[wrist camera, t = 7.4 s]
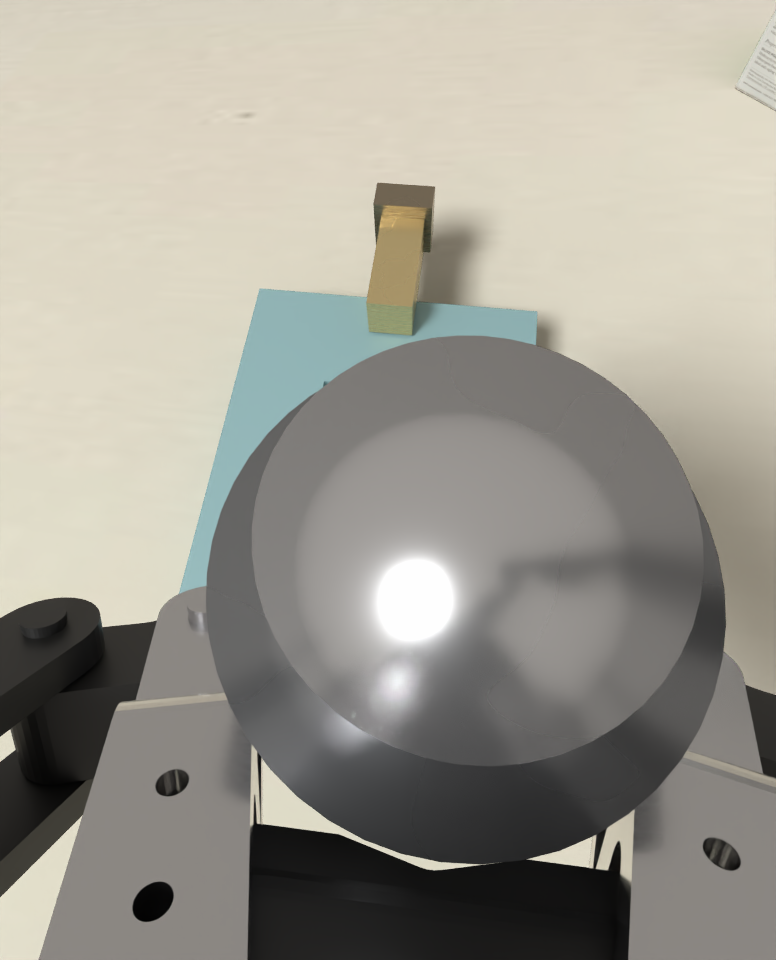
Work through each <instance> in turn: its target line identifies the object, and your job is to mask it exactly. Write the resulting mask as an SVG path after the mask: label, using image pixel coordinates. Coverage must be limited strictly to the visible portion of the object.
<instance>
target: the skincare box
mask: <svg viewBox="0 0 776 960" xmlns="http://www.w3.org/2000/svg"><path fill="white" fill-rule="evenodd" d="M735 87H736V89H737V90H739V91H741V92H743V93H745V94H746V95H748V96H750V97H752V98H754V99H755V100H757V101H759V102H761V103H763V104H764V105H766V106H768V107H770V108H772V109H773V110H775V111H776V10H775V12H774V14H773V16H772V17H771V19H770V21H769V23H768V25H767V27H766V29H765V31H764V33H763V35H762V36H761V38H760V40H759V42H758V44H757V46H756V48H755V50H754V52H753V53H752V55H751V57H750V59H749V61H748V63H747V65H746V67H745V68H744V70H743V72H742V74H741V76H740V78H739V80H738V82H737V84H736V86H735Z"/></svg>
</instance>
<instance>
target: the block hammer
mask: <svg viewBox="0 0 776 960" xmlns="http://www.w3.org/2000/svg"><path fill="white" fill-rule="evenodd" d="M434 198H435V187H432V186H417V185H402V184H388V183H377V188H376V194H375V199H374V219H375V234H376V250H375V256H374V262H373V267H372V273H371V279H370V284H369V290H368V296H367V301H366V306H367V316H368V327H369V332H378V333H389V334H401V335H412V332H413V324H414V317H415V310H416V302H417V295H418V288H419V280H420V273H421V265H422V258H423V252H430V249H431V241H432V234H433V218H434Z"/></svg>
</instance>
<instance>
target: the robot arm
mask: <svg viewBox="0 0 776 960" xmlns="http://www.w3.org/2000/svg"><path fill="white" fill-rule="evenodd" d="M10 729H11V733H12V737H13V741H14V745H15V749H16V750H15V751H14V752H12V753H11V754H10V755H9V756H7V757H6V758H5V759H4V760H2V761H1V762H0V897H1V896H2V895H3V894H4V893H5V892H6V891H7V890H8V889H9V888H10V887H11V886H12V885H13V884H14V883H15V882H16V881H17V880H18V879H19V878H20V877H21V876H22V875H23V874H24V873H25V872H26V871H27V870H28V869H29V868H30V867H31V866H32V865H33V864H34V863H35V862H36V861H37V860H38V859H39V858H40V857H41V856H42V855H43V854H44V853H45V852H46V851H47V850H48V849H49V848H50V847H51V846H52V845H53V844H54V843H55V842H56V841H57V840H58V839H59V838H60V837H61V836H62V835H63V834H64V833H65V832H66V831H67V830H68V829H69V828H70V827H71V826H72V825H73V824H74V823H75V822H76V821H77V820H78V819H79V818H80V817H81V816H82V815H83V816H82V819H81V823H80V826H79V829H78V833H77V836H76V839H75V842H74V846H73V849H72V852H71V856H70V859H69V862H68V865H67V869H66V872H65V875H64V878H63V882H62V885H61V888H60V892H59V895H58V898H57V901H56V905H55V908H54V911H53V915H52V918H51V921H50V924H49V928H48V931H47V934H46V937H45V941H44V944H43V947H42V951H41V954H40V957H39V960H776V695H773V694H770V693H767V692H763V691H761V690H758V689H755V688H752V687H750V686H747V685H745V682H744V677H743V674H742V671H741V670H740V668H739V666H738V665H737V664H736V663H735V661H734V660H733V659H732V658H731V657H729V656H728V655H727V654H726V653H725V652H723V659H722V663H721V667H720V672H719V676H718V680H717V684H716V688H715V692H714V695H713V698H712V700H711V703H710V705H709V708H708V710H707V713H706V715H705V718H704V720H703V722H702V725H701V727H700V729H699V731H698V733H697V734H696V736H695V738H694V739H693V741H692V743H691V744H690V746H689V748H688V749H687V751H686V753H685V754H684V756H683V758H682V760H681V761H680V762H679V763H678V764H677V766H676V767H675V768H674V769H673V770H672V772H671V773H670V774H669V775H668V777H667V778H666V779H665V780H664V781H663V783H662V784H661V785H660V786H659V787H658V789H657V790H655V791H654V792H653V793H652V794H651V795H650V796H649V797H647V798H646V799H645V800H644V801H643V802H642V803H641V804H640V805H638V806H637V807H636V808H635V809H634V810H633V811H632V812H631V813H629V814H628V815H627V816H625V817H623V818H622V819H620V820H619V821H617V822H616V823H614V824H612V825H611V826H609V827H608V828H606V829H604V830H603V831H601V832H600V833H598V834H597V835H595V836H592V843H591V852H590V861H589V868H586V867H579V866H571V865H564V864H556V863H549V862H541V861H534V860H526V859H525V860H521V861H511V862H502V863H494V864H486V865H478V866H470V867H463V868H455V869H447V870H435V871H433V870H426V869H423V868H420V867H418V866H415V865H413V864H410V863H408V862H405V861H403V860H400V859H398V858H395V857H393V856H391V855H388V854H386V853H383V852H381V851H378V850H376V849H373V848H371V847H368V846H366V845H364V844H361V843H359V842H356V841H354V840H351V839H349V838H346V837H344V836H341V835H339V834H332V833H324V832H317V831H309V830H302V829H294V828H287V827H279V826H272V825H264V824H263V787H262V757H261V756H260V755H259V753H258V752H257V751H256V749H255V748H254V747H253V745H252V744H251V743H250V741H249V740H248V738H247V737H246V735H245V733H244V731H243V729H242V728H241V726H240V724H239V722H238V720H237V719H236V717H235V715H234V713H233V711H232V709H231V708H230V705H229V703H228V700H227V698H226V695H225V692H224V690H223V687H222V685H221V682H220V679H219V677H218V674H217V671H216V666H215V662H214V658H213V654H212V649H211V645H210V641H209V633H208V623H207V613H206V586H203V587H198V588H194V589H190V590H187V591H185V592H182V593H180V594H178V595H176V596H175V597H173V598H172V599H170V600H169V601H168V602H167V603H166V604H165V605H164V606H163V607H162V609H161V610H160V612H159V615H158V618H157V621H153V622H148V623H140V624H130V625H120V626H111V627H102V623H101V617H100V612H99V609H98V608H97V607H96V606H95V605H94V604H93V603H91V602H89V601H86V600H83V599H78V598H53V599H47V600H42V601H38V602H35V603H31V604H28V605H26V606H23V607H21V608H18V609H16V610H14V611H12V612H10V613H9V614H7V615H5V616H3V617H2V618H0V736H2V735H3V734H4V733H6V732H7V731H8V730H10Z"/></svg>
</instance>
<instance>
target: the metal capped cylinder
mask: <svg viewBox="0 0 776 960" xmlns="http://www.w3.org/2000/svg"><path fill="white" fill-rule="evenodd" d="M206 613H207V623H208V633H209V641H210V645H211V649H212V654H213V658H214V662H215V666H216V671H217V674H218V677H219V679H220V682H221V685H222V687H223V690H224V692H225V695H226V698H227V700H228V703H229V705H230V708H231V709H232V711H233V713H234V715H235V717H236V719H237V720H238V722H239V724H240V726H241V728H242V729H243V731H244V733H245V735H246V737H247V738H248V740H249V741H250V743H251V744H252V745H253V747H254V748H255V749H256V751H257V752H258V753H259V755H260V756H261V757H262V759H263V760H264V761H265V763H266V764H267V765H268V767H269V768H270V769H271V770H272V771H273V772H274V773H275V774H276V775H277V776H278V777H279V778H280V779H281V780H282V781H283V782H284V783H285V784H286V786H287V787H288V788H289V789H290V790H291V791H292V792H293V793H294V794H295V795H296V796H297V797H299V798H300V799H301V800H303V801H304V802H305V803H307V804H308V805H309V806H311V807H312V808H313V809H315V810H316V811H317V812H318V813H320V814H321V815H322V816H324V817H325V818H326V819H328V820H329V821H331V822H333V823H335V824H336V825H338V826H340V827H342V828H344V829H345V830H347V831H349V832H351V833H353V834H355V835H356V836H358V837H360V838H362V839H364V840H366V841H369V842H372V843H374V844H377V845H380V846H382V847H385V848H388V849H390V850H393V851H396V852H398V853H401V854H405V855H410V856H415V857H420V858H424V859H429V860H434V861H438V862H449V863H466V864H490V863H500V862H511V861H521V860H525V859H529V858H533V857H537V856H541V855H545V854H548V853H552V852H556V851H560V850H562V849H565V848H567V847H569V846H572V845H574V844H576V843H578V842H581V841H583V840H585V839H588V838H590V837H592V836H595V835H597V834H598V833H600V832H601V831H603V830H604V829H606V828H608V827H609V826H611V825H612V824H614V823H616V822H617V821H619V820H620V819H622V818H623V817H625V816H627V815H628V814H629V813H631V812H632V811H633V810H634V809H635V808H636V807H637V806H638V805H640V804H641V803H642V802H643V801H644V800H645V799H646V798H647V797H649V796H650V795H651V794H652V793H653V792H654V791H655V790H657V789H658V787H659V786H660V785H661V784H662V783H663V781H664V780H665V779H666V778H667V777H668V775H669V774H670V773H671V772H672V770H673V769H674V768H675V767H676V766H677V764H678V763H679V762H680V761H681V760H682V758H683V756H684V754H685V753H686V751H687V749H688V748H689V746H690V744H691V743H692V741H693V739H694V738H695V736H696V734H697V733H698V731H699V729H700V727H701V725H702V722H703V720H704V718H705V715H706V713H707V710H708V708H709V705H710V703H711V700H712V698H713V695H714V692H715V688H716V684H717V680H718V676H719V672H720V667H721V663H722V659H723V648H724V638H725V628H726V617H725V594H724V585H723V580H722V574H721V569H720V563H719V557H718V554H717V551H716V547H715V544H714V541H713V538H712V535H711V532H710V528H709V525H708V523H707V521H706V518H705V516H704V514H703V512H702V510H701V508H700V505H699V503H698V501H697V499H696V497H695V495H694V493H693V491H692V490H691V487H690V484H689V482H688V480H687V478H686V475H685V473H684V471H683V469H682V467H681V465H680V462H679V460H678V458H677V457H676V455H675V454H674V452H673V450H672V449H671V447H670V446H669V444H668V442H667V441H666V439H665V437H664V436H663V435H662V433H661V432H660V431H659V430H658V428H657V427H656V426H655V425H654V423H653V422H652V421H651V420H650V418H649V417H648V416H647V415H646V414H645V413H644V412H643V411H642V410H641V409H640V408H639V407H638V406H637V405H636V404H635V403H634V402H633V401H632V400H631V399H630V398H629V397H628V396H627V395H626V394H625V393H623V392H622V391H621V390H619V389H618V388H617V387H616V386H614V385H613V384H612V383H611V382H609V381H608V380H607V379H605V378H604V377H602V376H601V375H599V374H597V373H596V372H594V371H592V370H591V369H589V368H587V367H586V366H584V365H583V364H580V363H578V362H576V361H574V360H572V359H570V358H568V357H566V356H564V355H561V354H559V353H557V352H554V351H551V350H548V349H545V348H542V347H539V346H536V345H533V344H529V343H525V342H520V341H516V340H512V339H506V338H498V337H489V336H461V335H457V336H447V337H436V338H429V339H425V340H420V341H415V342H410V343H406V344H403V345H400V346H397V347H394V348H391V349H388V350H385V351H382V352H380V353H378V354H376V355H374V356H371V357H369V358H367V359H365V360H363V361H361V362H359V363H357V364H356V365H354V366H352V367H351V368H349V369H347V370H346V371H344V372H343V373H341V374H339V375H338V376H337V377H335V378H334V379H333V380H332V381H330V382H329V383H328V384H326V385H325V386H324V387H323V388H321V389H320V390H319V391H317V392H316V393H314V394H312V395H311V396H309V397H308V398H307V399H306V400H304V401H303V402H302V403H300V404H299V405H298V406H297V407H295V408H294V409H293V410H292V411H290V412H289V413H288V414H287V415H286V416H285V417H284V418H283V419H282V420H281V421H280V422H279V423H278V424H277V425H276V426H275V427H274V428H273V429H272V430H271V431H270V432H269V433H268V434H267V435H266V436H265V437H264V439H263V440H262V441H261V443H260V444H259V445H258V446H257V448H256V449H255V450H254V451H253V453H252V454H251V455H250V457H249V458H248V460H247V461H246V463H245V465H244V466H243V468H242V470H241V471H240V473H239V475H238V476H237V478H236V480H235V481H234V483H233V485H232V487H231V490H230V492H229V494H228V496H227V499H226V501H225V503H224V505H223V508H222V510H221V513H220V516H219V519H218V523H217V526H216V529H215V533H214V536H213V539H212V544H211V550H210V556H209V562H208V568H207V582H206Z"/></svg>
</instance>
